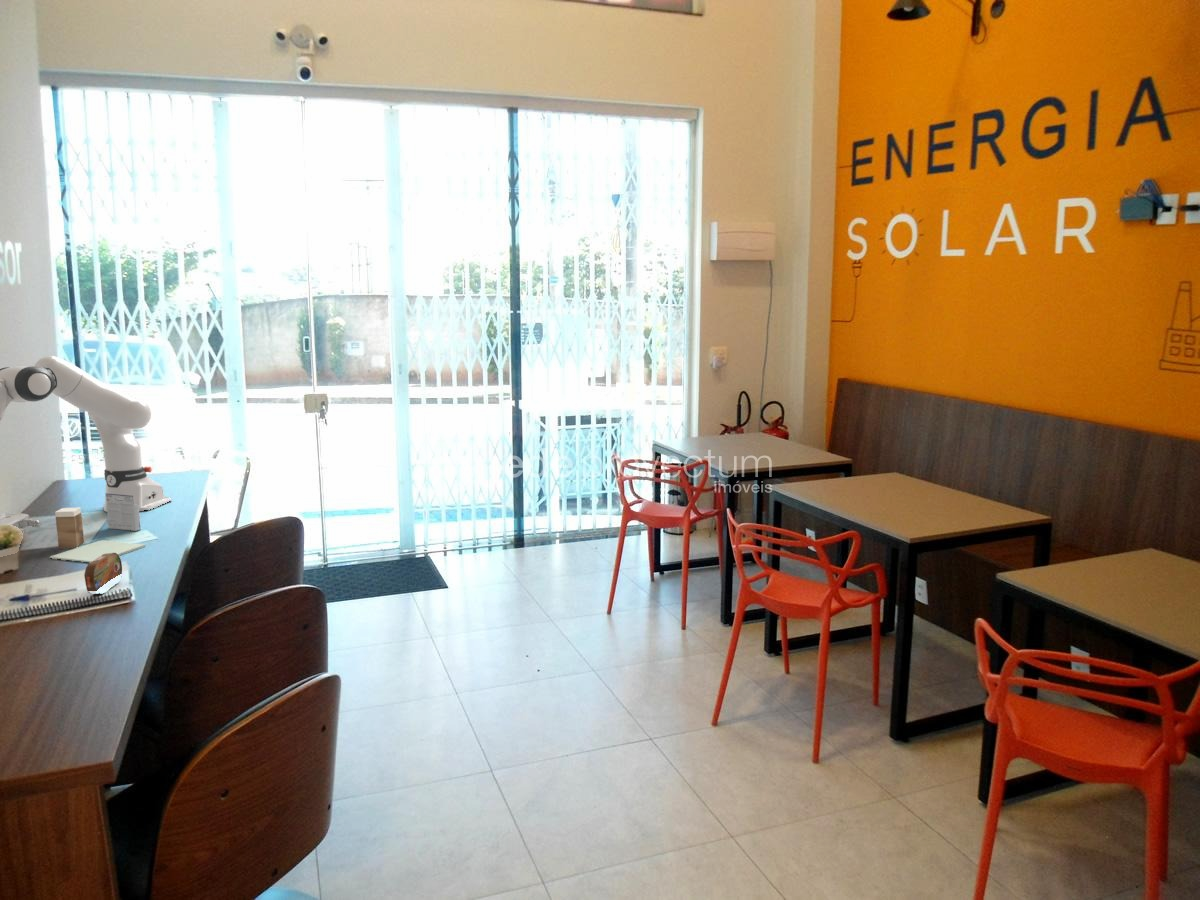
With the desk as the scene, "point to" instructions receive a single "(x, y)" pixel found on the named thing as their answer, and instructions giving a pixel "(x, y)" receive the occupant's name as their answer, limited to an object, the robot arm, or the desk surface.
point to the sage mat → (97, 550)
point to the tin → (102, 571)
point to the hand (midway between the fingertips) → (31, 527)
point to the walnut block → (69, 527)
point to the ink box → (122, 512)
